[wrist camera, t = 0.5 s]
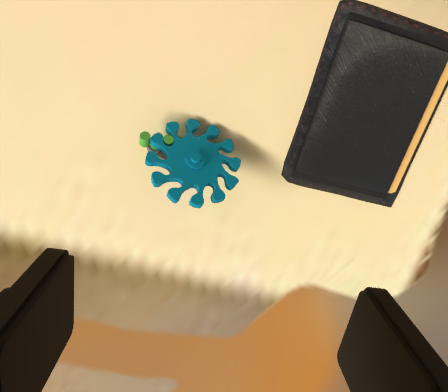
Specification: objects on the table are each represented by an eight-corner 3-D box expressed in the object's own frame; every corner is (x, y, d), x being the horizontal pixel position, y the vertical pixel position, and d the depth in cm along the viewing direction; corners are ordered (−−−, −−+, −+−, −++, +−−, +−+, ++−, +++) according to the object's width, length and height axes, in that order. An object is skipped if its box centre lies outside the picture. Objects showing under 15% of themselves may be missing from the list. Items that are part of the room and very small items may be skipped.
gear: (256, 146, 37) (218, 221, 32) (239, 171, 42) (203, 238, 37) (168, 94, 36) (115, 162, 31) (161, 125, 41) (115, 188, 36)
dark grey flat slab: (347, -10, 32) (482, 40, 34) (340, -6, 34) (469, 42, 36) (276, 181, 38) (394, 214, 40) (273, 176, 40) (386, 208, 42)
